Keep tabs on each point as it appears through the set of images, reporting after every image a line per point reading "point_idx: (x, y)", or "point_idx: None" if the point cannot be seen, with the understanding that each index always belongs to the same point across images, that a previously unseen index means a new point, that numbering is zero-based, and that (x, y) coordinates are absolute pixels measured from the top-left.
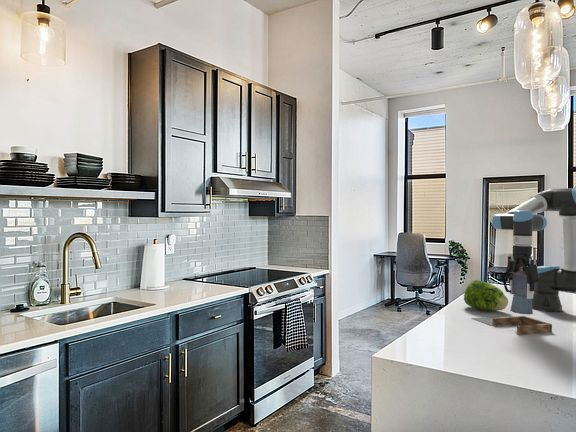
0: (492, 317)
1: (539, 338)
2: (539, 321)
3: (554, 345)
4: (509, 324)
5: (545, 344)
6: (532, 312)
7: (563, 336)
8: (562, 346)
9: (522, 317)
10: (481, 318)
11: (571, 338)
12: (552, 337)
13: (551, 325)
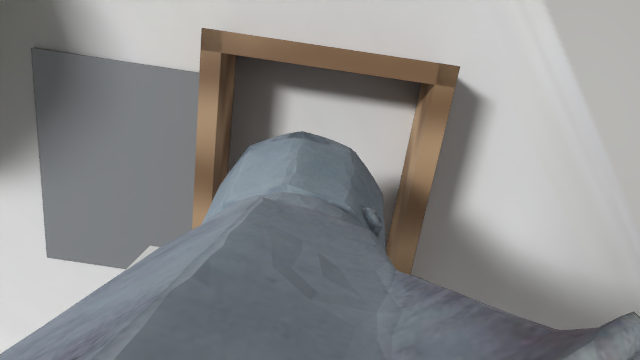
0: (53, 116)
1: (477, 255)
2: (365, 73)
3: (581, 294)
4: (227, 171)
5: (548, 317)
6: (380, 192)
7: (528, 87)
8: (612, 275)
9: (222, 65)
10: (65, 207)
11: (576, 82)
12: (504, 172)
13: (455, 71)
